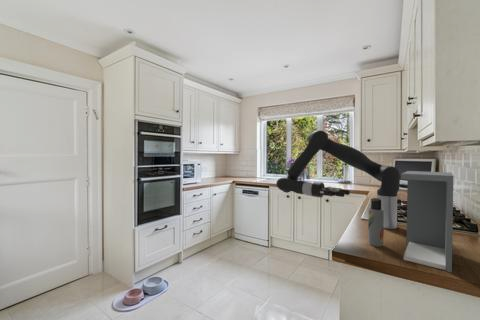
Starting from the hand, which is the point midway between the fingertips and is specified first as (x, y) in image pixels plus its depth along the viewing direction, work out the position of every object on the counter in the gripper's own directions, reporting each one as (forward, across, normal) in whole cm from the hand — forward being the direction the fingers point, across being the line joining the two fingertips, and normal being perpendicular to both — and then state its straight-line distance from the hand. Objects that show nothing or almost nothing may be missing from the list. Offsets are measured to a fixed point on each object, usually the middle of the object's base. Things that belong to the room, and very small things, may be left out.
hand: (346, 193), depth 106 cm
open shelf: (+30, 0, +20) cm, 36 cm away
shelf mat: (+29, 0, +20) cm, 35 cm away
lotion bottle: (+13, 0, +21) cm, 24 cm away
